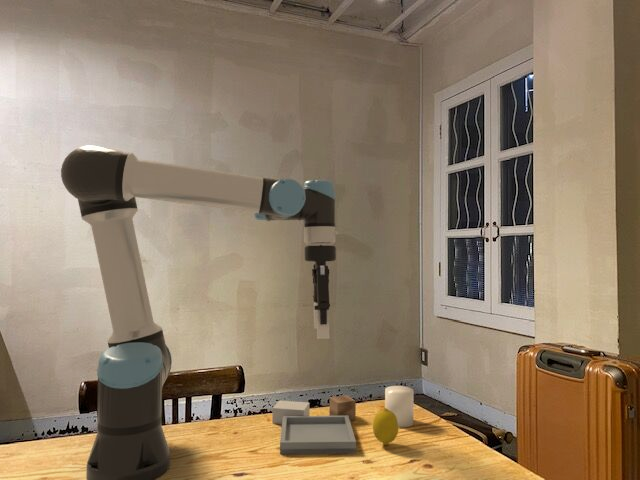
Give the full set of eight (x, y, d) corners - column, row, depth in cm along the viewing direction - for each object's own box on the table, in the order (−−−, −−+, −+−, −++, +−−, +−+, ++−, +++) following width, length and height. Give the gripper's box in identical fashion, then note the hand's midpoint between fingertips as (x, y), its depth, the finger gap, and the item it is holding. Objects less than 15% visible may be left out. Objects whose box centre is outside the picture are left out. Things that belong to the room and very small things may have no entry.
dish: (280, 454, 100) (280, 442, 100) (282, 426, 116) (282, 416, 116) (355, 453, 101) (355, 441, 101) (348, 425, 117) (348, 415, 117)
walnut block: (337, 423, 118) (337, 403, 119) (329, 416, 123) (329, 397, 123) (355, 420, 120) (355, 400, 121) (346, 414, 125) (346, 395, 125)
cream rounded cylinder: (387, 427, 116) (388, 394, 116) (382, 417, 123) (383, 385, 123) (416, 427, 116) (416, 393, 116) (409, 417, 123) (409, 385, 123)
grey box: (272, 424, 118) (272, 407, 118) (279, 416, 124) (279, 400, 124) (303, 426, 116) (304, 410, 117) (309, 418, 122) (309, 402, 122)
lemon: (397, 440, 108) (397, 404, 108) (398, 450, 102) (398, 413, 102) (372, 439, 108) (372, 403, 108) (372, 449, 103) (373, 412, 103)
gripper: (341, 244, 103) (342, 342, 103) (331, 245, 128) (332, 324, 127) (306, 244, 102) (307, 343, 102) (303, 245, 127) (304, 325, 127)
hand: (321, 333), depth 115 cm, fingers open, 13 cm apart
